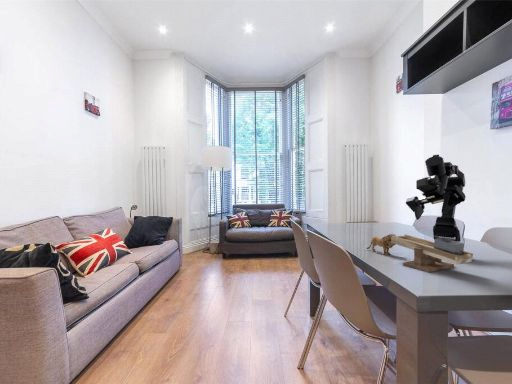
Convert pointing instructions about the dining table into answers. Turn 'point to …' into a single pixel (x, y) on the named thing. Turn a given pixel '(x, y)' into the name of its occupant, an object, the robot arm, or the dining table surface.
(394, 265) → the dining table surface
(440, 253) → the beam
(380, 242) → the lion figurine
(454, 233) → the robot arm
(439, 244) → the block
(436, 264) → the stand
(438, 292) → the dining table surface
